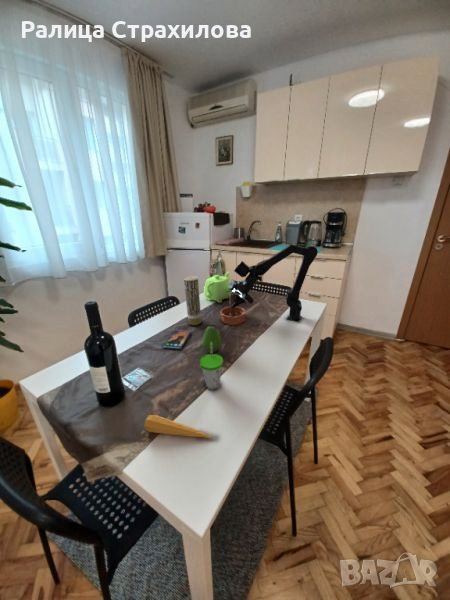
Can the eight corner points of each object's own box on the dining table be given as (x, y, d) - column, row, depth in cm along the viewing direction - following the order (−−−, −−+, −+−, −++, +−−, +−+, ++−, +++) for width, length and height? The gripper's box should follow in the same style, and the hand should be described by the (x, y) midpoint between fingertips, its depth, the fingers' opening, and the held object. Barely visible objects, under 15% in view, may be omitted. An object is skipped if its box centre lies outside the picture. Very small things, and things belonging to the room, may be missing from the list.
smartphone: (162, 346, 104) (175, 329, 118) (163, 349, 105) (175, 331, 118) (180, 347, 103) (191, 329, 116) (180, 350, 103) (191, 332, 117)
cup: (215, 396, 78) (213, 358, 72) (197, 387, 82) (193, 351, 76) (228, 382, 84) (227, 346, 78) (210, 374, 88) (207, 339, 82)
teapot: (226, 308, 142) (225, 283, 136) (198, 301, 153) (196, 278, 147) (246, 295, 161) (246, 272, 155) (220, 290, 173) (219, 268, 166)
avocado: (207, 358, 97) (205, 332, 92) (200, 348, 104) (198, 324, 99) (224, 353, 100) (223, 328, 96) (217, 344, 107) (216, 320, 102)
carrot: (144, 432, 67) (140, 427, 64) (151, 416, 70) (147, 410, 67) (213, 449, 64) (212, 445, 61) (216, 431, 67) (216, 426, 64)
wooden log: (186, 324, 125) (181, 279, 115) (192, 319, 130) (188, 275, 121) (197, 326, 122) (193, 280, 113) (203, 321, 128) (200, 276, 118)
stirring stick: (232, 315, 131) (231, 291, 125) (238, 317, 128) (238, 293, 123) (227, 318, 127) (226, 294, 122) (234, 320, 125) (233, 295, 120)
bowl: (229, 312, 137) (229, 304, 135) (249, 318, 130) (249, 309, 128) (215, 321, 127) (215, 313, 125) (236, 328, 120) (236, 319, 118)
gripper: (230, 269, 128) (213, 292, 128) (248, 278, 113) (228, 304, 112) (243, 281, 134) (226, 303, 134) (262, 291, 119) (242, 316, 118)
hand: (230, 306), depth 125 cm, fingers closed on stirring stick, 3 cm apart
